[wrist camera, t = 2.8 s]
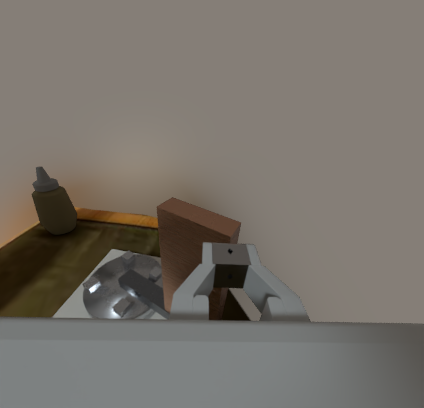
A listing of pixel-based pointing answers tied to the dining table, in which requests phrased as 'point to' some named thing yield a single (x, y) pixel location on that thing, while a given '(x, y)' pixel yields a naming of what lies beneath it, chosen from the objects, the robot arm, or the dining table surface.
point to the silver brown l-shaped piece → (160, 266)
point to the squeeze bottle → (53, 204)
